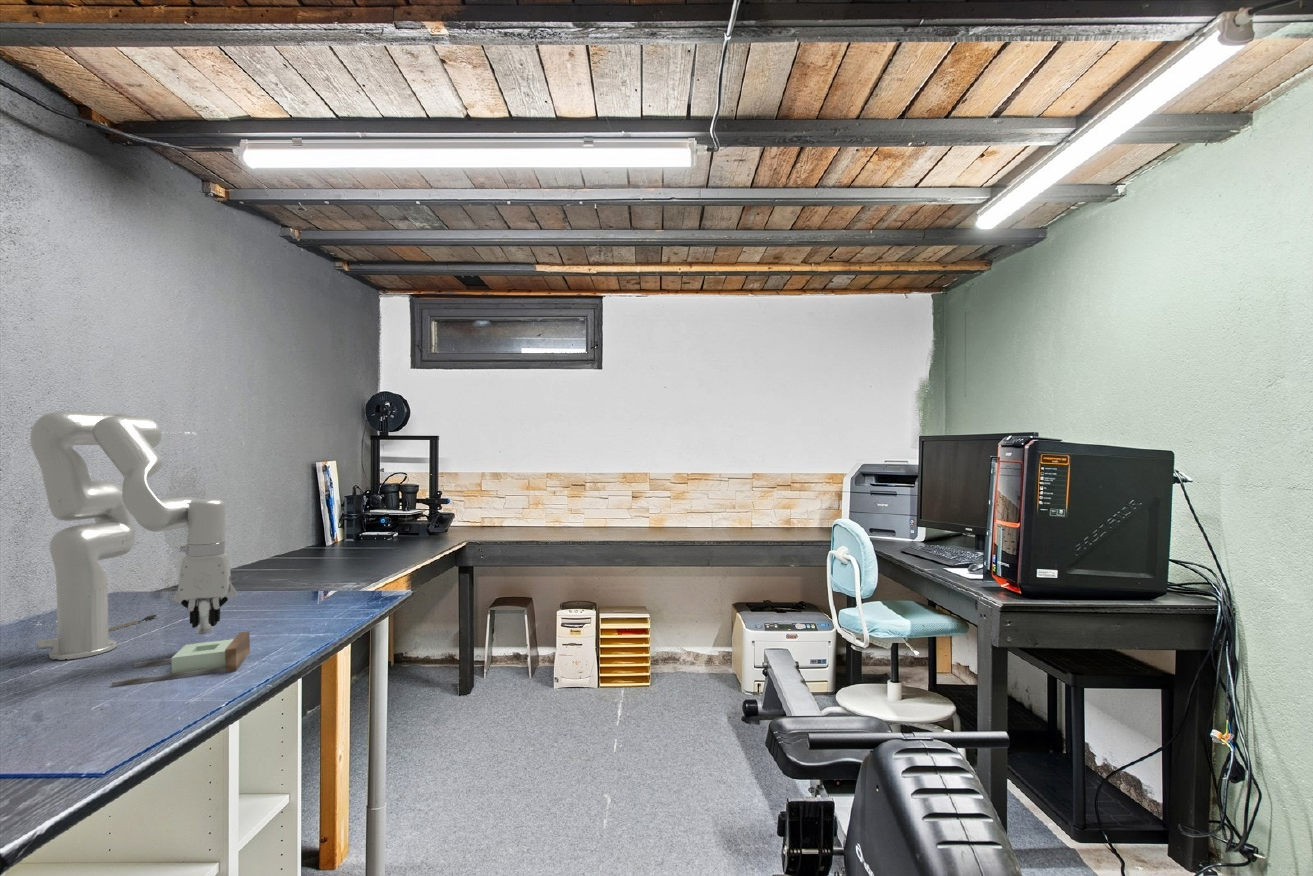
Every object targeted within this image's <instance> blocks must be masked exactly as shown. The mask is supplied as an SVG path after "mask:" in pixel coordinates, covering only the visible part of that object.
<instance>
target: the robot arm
mask: <svg viewBox="0 0 1313 876" xmlns="http://www.w3.org/2000/svg"><path fill="white" fill-rule="evenodd" d="M162 434H163V433H162V429H161V428H160V425H159V424H158V423H157V422H155V421H154V420H153V419H152V418H149V417H145V416H135V415H127V414H119V413H112V412H100V411H99V412H97V411H82V410H81V411H79V410H74V411H73V410H63V411H53V412H49V413H46V414H44V415H42V416H40V417H39V418H37V419H36V421H35V423H34V424H33V425H32V428H31V431H30V446H31V449H32V452H33V455H34V457H35V458H36V461H37V463H38V465H39V467H40V471H41V475H42V481H43V485H44V490H45V493H46V497H47V502H48V506H49V509H50V512H51V515H52V516H53V517H54V518H55V519H57V520H59V521H62V522H63V521H65V522H68V521H69V522H70V521H71V522H72V521H81V520H89V519H90V520H92V519H94V522H92V523H86V524H85V523H83V524H78V525H77V524H76V525H72V526H69V527H65V528H63V529H61V530H59V531H57V532H56V533H55V534H54V535H53V536H52V538H51V539H50V543H49V551H50V556H51V560H52V562H53V566H54V572H55V584H56V585H55V588H56V617H57V619H56V620H57V621H56V623H57V626H56V627H57V629H56V630H57V636H56V637H53V638H51V639H49V638H48V639H40V640H37V643H36V648H37V649H38V650H46V649H51V650H52V651H50V652H49V653H48V657H49V659H50V660H54V659H58V660H57V661H62V660H63V661H65V659H67V660H75V659H76V660H77V659H81V658H87V657H91V656H97V655H101V654H104V653H106V652H110V651H112V650H114V649H115V648H116V647H117V646H118V644H117V641H116V640H114V639H110V638H109V637H110V636H109V632H108V629H109V600H108V599H109V598H108V597H109V596H108V594H109V593H108V591H109V590H108V587H109V586H108V577H107V573H106V572H105V570H104V568H103V567H102V565H100V563H99V561H101V560H108V559H112V558H113V559H114V558H117V557H122V556H124V555H126V554H128V553H129V552H130V551H131V550H132V549H133V547H134V545H135V543H136V533H135V527H134V522H133V519H134V520H135V521H136V522H137V524H139V526H141V527H142V528H143V529H145V530H148V531H149V532H165V531H171V530H176V529H177V530H178V529H183V528H184V529H185V528H187V530H186V531H187V533H186V534H187V535H186V536H187V537H186V539H187V540H186V545H183V546H180V547H179V552H180V553H185V554H186V556H184V557H182V560H181V563H180V567H179V568H180V569H179V575H178V584H177V585H178V586H177V590H176V592H175V593H174V595H173V596H172V598H171V600H172V602H175V603H178V604H181V605H182V606H183V607H185V608H186V609H187V610H188V612H189V624H192V625H191V628H192V629H194V628H195V629H196V628H197V599H202V598H213V609H212V610H211V626H213V627H215V626H216V625H217V624H218V622H220V621H221V607H223V605H224V604H225V603H227V602H228V601H230V600H233V599H235V598H236V597H237V596H238V592H237V590H236V588H235V587H234V585H233V584H232V574H231V566H230V559H229V556H228V553H226V552H225V551H226V550H225V543H226V542H225V540H226V536H225V535H226V503H225V502H224V501H223V500H222V499H220V498H198V497H193V496H182V497H181V496H180V497H171V498H162V499H161V498H160V499H159V498H158V497H157V496H156V494H155V493H154V492H153V490H152V489H151V488H150V486H149V485H148V484H149V483H148V481H147V480H148V479H149V478H151V477H152V476H154V475H155V474H156V473H158V472H159V471H160V470H161V468H162V467H163V463H164V462H163V459H162V458H161V457H162V456H160V455H159V454H158V452H157V451H156V450H155V449H154V448H155V447H157V446H158V445H159V444H160V443H161V440H162ZM73 446H99V447H100V449H101V450H102V451H103V452H104V453H105V455H106V456H107V457H108V459H109V460H110V462H112V464H113V465H114V466H115V468H116V469H117V470H118V472H119V473H120V474H121V475H122V476H123V481H122V483H121V484H122V485H121V486H120V485H119V484H118V483H115V482H113V481H110V480H109V481H108V480H95V481H93V480H92V479H91V477H90V475H89V471H88V465H87V463H86V461H85V459H84V458H83V457H82V456H81V454H80V453H79V452H77V450H75V449H74V448H73Z"/></svg>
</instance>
